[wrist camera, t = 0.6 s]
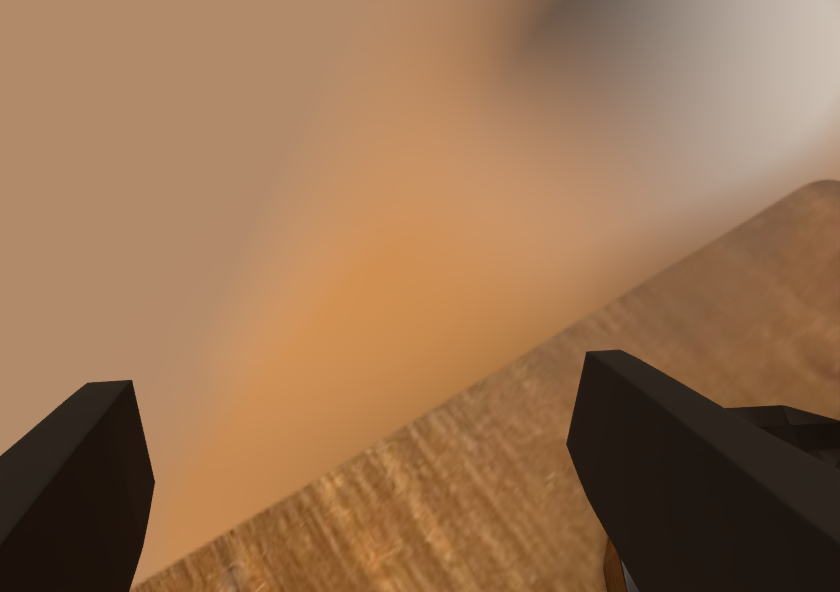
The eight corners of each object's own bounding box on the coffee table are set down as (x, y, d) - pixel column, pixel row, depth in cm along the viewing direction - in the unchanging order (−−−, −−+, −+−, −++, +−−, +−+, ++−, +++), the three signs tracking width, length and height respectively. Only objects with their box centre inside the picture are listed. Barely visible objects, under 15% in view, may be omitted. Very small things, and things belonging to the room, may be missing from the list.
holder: (1084, 823, 19) (1176, 838, 16) (656, 836, 19) (683, 853, 17) (875, 426, 27) (915, 397, 24) (577, 442, 27) (588, 415, 25)
